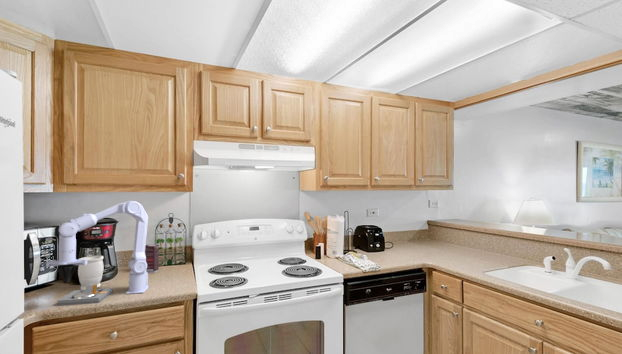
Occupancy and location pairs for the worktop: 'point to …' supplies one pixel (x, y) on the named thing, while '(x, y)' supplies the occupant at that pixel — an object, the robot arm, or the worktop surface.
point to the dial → (88, 292)
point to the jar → (91, 271)
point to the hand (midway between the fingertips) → (66, 282)
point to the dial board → (71, 300)
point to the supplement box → (152, 258)
